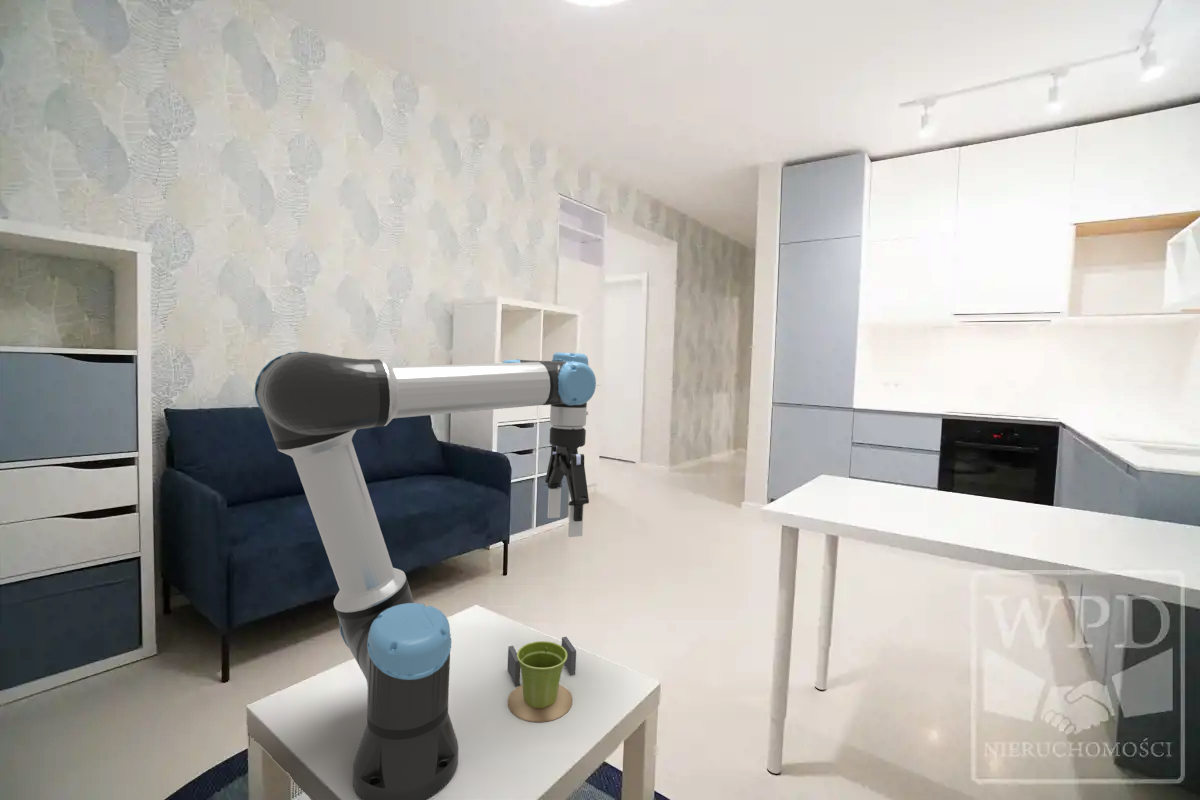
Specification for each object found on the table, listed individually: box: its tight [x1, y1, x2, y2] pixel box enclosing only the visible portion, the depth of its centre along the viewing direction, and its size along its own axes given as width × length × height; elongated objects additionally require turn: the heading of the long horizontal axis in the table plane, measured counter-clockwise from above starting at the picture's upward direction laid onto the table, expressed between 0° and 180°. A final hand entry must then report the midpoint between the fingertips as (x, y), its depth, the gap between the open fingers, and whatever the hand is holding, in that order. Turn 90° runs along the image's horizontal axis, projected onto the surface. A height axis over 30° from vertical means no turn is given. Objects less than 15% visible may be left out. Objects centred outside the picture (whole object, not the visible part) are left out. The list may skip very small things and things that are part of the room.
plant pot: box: [516, 640, 567, 708], centre depth 99 cm, size 9×9×9 cm
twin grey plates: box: [506, 636, 577, 687], centre depth 109 cm, size 13×6×5 cm, turn 113°
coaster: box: [507, 683, 573, 723], centre depth 99 cm, size 12×12×1 cm
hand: (563, 526), depth 113 cm, fingers open, 13 cm apart
